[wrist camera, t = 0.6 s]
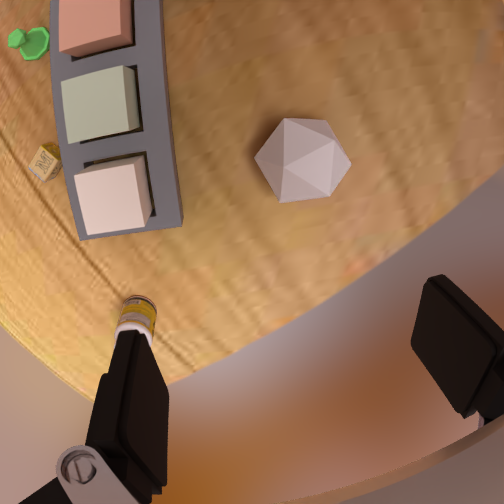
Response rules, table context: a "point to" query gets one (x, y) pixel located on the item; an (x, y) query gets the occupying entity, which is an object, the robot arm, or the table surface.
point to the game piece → (30, 42)
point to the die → (302, 160)
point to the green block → (100, 103)
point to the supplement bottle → (137, 317)
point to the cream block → (114, 195)
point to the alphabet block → (46, 162)
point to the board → (150, 139)
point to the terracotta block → (94, 25)
